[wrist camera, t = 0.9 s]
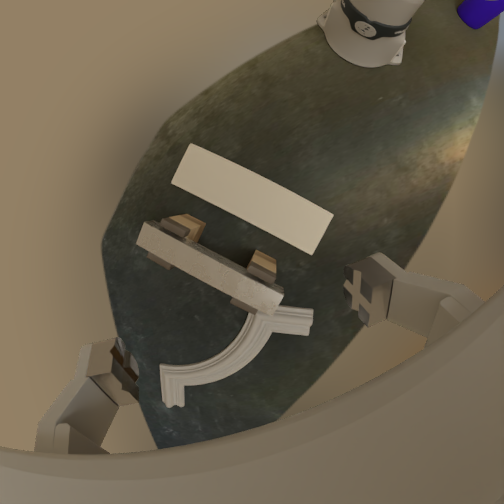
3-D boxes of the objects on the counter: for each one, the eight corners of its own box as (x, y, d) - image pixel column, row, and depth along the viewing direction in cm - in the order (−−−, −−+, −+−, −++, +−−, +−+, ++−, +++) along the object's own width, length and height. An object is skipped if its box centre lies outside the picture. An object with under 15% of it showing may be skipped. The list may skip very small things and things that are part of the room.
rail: (154, 220, 40) (144, 222, 37) (283, 287, 41) (284, 295, 37) (146, 240, 41) (136, 243, 38) (272, 307, 41) (271, 316, 38)
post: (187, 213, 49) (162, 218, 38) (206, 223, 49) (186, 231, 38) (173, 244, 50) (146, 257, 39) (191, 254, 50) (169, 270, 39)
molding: (175, 408, 59) (172, 415, 56) (141, 375, 58) (136, 381, 55) (323, 321, 51) (326, 328, 48) (286, 274, 50) (287, 279, 47)
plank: (192, 144, 46) (190, 142, 45) (332, 214, 47) (333, 214, 46) (172, 183, 48) (170, 183, 47) (311, 254, 48) (311, 255, 47)
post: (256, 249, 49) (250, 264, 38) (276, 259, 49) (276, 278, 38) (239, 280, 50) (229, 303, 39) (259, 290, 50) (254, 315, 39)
